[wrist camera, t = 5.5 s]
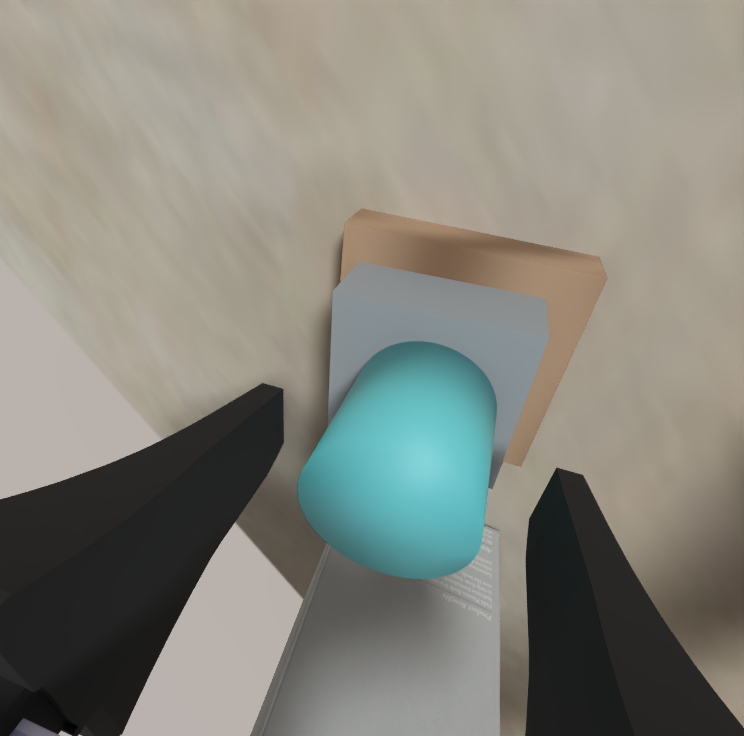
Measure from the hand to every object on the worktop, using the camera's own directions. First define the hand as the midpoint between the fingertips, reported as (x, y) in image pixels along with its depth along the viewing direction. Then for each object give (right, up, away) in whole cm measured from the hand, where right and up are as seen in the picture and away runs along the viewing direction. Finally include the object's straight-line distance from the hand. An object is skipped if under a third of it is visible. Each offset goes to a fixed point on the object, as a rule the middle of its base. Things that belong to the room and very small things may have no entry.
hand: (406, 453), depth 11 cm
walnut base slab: (+2, +4, +6) cm, 8 cm away
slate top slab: (+1, +3, +4) cm, 5 cm away
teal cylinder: (+1, +1, +2) cm, 3 cm away
